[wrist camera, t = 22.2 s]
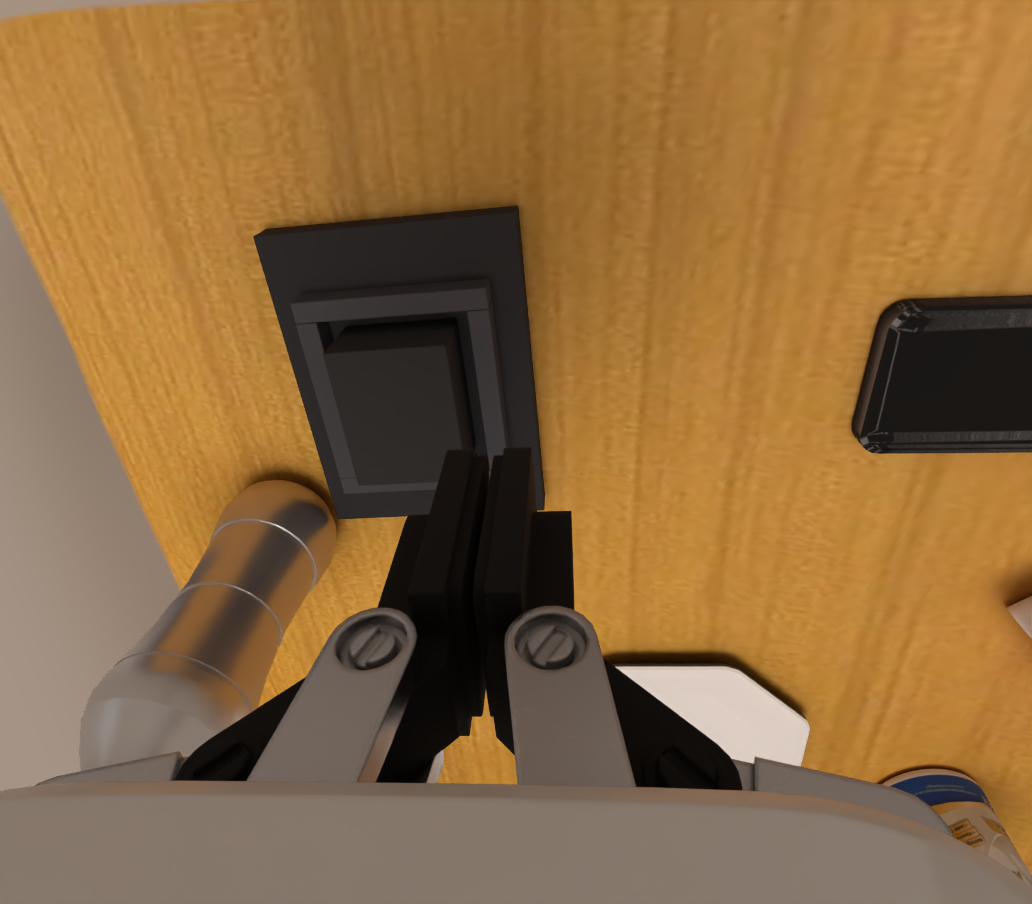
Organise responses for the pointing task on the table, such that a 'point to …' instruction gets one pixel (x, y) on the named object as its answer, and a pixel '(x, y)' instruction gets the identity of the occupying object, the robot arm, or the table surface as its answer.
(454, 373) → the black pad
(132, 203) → the table surface
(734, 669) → the plate
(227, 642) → the plastic bottle
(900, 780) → the beverage bottle
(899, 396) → the phone
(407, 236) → the base pad
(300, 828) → the robot arm
